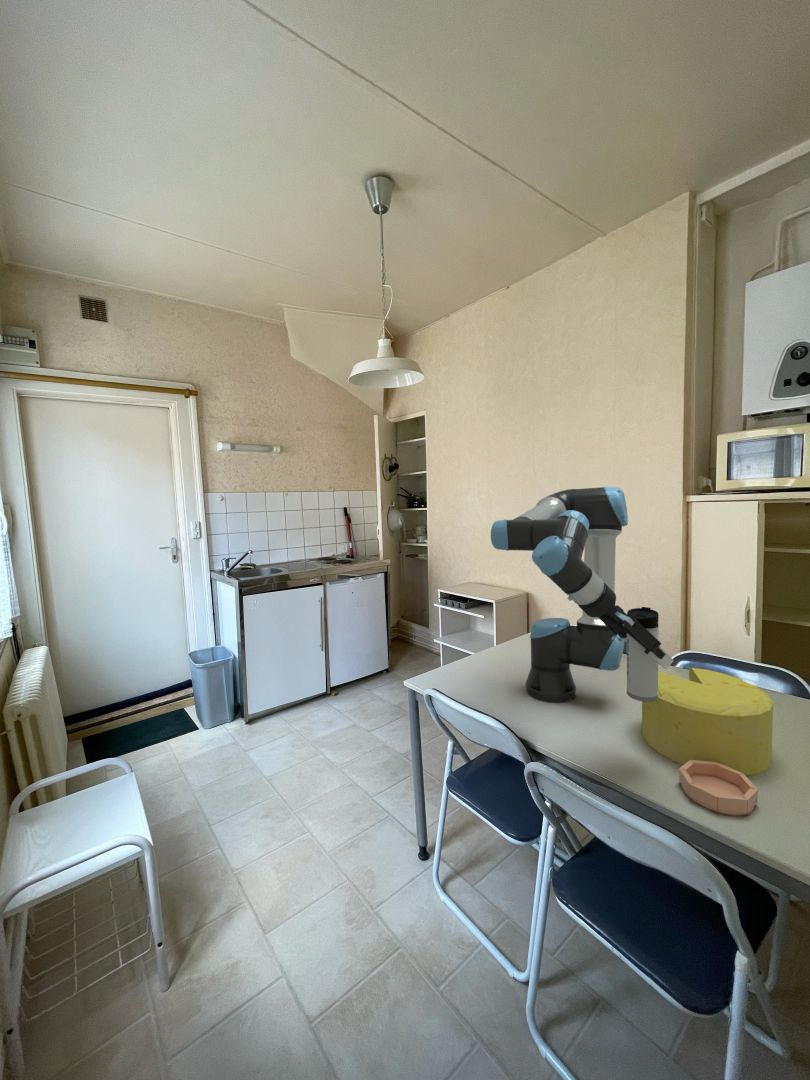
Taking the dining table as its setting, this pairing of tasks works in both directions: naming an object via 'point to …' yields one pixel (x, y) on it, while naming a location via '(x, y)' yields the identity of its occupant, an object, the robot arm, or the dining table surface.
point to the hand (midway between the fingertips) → (657, 658)
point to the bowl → (718, 787)
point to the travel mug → (642, 659)
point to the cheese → (710, 721)
